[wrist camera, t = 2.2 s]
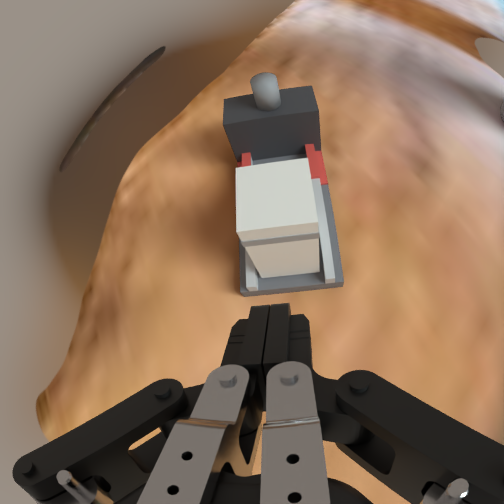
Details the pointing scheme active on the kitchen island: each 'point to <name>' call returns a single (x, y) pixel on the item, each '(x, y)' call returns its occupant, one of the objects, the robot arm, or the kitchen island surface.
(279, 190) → the grooved white block
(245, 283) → the grey boxy device
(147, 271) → the kitchen island surface
